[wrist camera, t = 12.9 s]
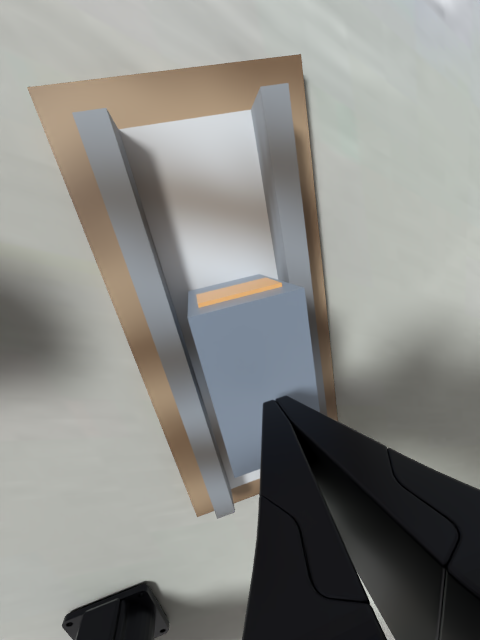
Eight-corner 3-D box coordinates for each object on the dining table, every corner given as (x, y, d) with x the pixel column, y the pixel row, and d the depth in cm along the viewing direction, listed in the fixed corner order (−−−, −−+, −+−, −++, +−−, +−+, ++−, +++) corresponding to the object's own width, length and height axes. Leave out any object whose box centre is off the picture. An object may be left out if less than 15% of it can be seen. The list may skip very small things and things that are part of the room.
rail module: (278, 380, 15) (324, 446, 10) (218, 399, 15) (234, 478, 10) (258, 271, 13) (304, 283, 8) (187, 288, 13) (186, 313, 7)
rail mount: (336, 454, 20) (358, 485, 17) (197, 506, 18) (198, 548, 16) (293, 66, 12) (323, 13, 9) (39, 99, 10) (-13, 46, 8)
